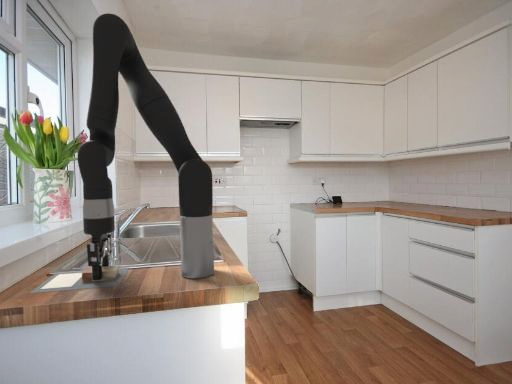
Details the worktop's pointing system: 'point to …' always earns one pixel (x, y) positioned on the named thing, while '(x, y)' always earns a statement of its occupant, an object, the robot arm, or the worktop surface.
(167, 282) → the worktop surface
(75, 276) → the rubber mat
